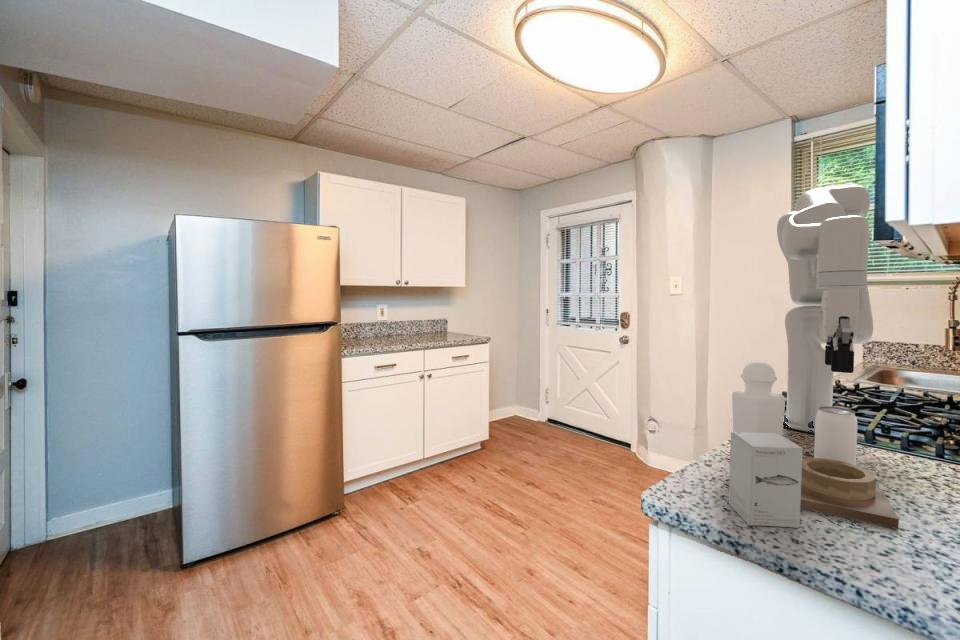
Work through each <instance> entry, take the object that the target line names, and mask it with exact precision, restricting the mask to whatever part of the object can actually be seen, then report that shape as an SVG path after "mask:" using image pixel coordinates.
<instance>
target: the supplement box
mask: <svg viewBox="0 0 960 640" xmlns="http://www.w3.org/2000/svg"><path fill="white" fill-rule="evenodd" d="M803 449H804V447H802V446H801V445H799V444H797V443H795V442H793V441H791V440H790V439H788V438H786V437H784V436H783V435H782V436H781V435H779V434H777V433H749V432H733V431H731V432H730V449H729V450H730V452H729V454H730V457H729V458H730V460H729V486H728V487H729V490H728V491H729V492H728V494H729V495H728V503H729V505H730V506H731V507H732V509H733V510H734V511H735V512H736V513H737V515H739V516H740V517H741V518H742V520H744V522H745V523H747V525H749V527H750V526H764V527H765V526H766V527H783V528H793V529H799V528H800V526H801V525H800V524H801V508H800V504H801V477H802V460H803Z"/></svg>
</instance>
